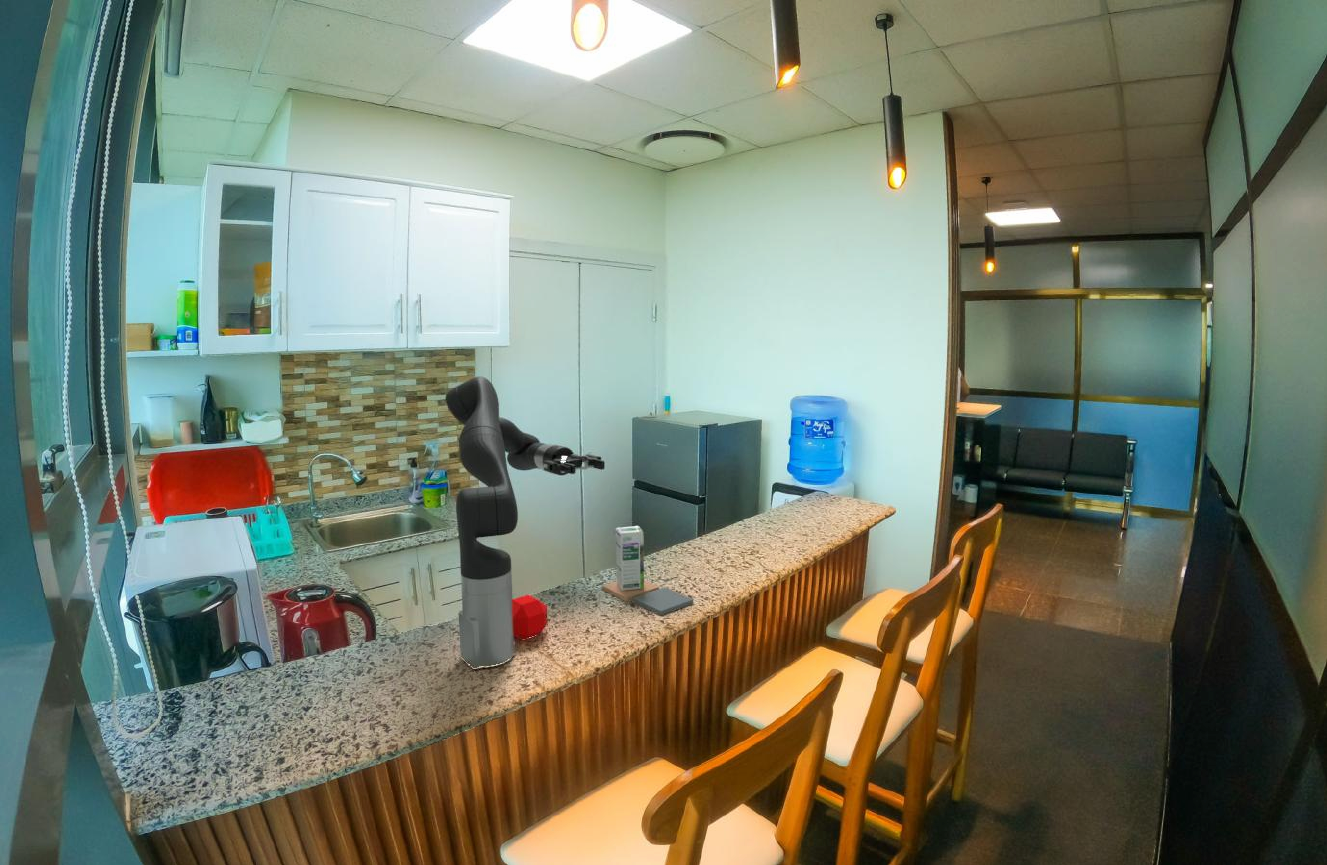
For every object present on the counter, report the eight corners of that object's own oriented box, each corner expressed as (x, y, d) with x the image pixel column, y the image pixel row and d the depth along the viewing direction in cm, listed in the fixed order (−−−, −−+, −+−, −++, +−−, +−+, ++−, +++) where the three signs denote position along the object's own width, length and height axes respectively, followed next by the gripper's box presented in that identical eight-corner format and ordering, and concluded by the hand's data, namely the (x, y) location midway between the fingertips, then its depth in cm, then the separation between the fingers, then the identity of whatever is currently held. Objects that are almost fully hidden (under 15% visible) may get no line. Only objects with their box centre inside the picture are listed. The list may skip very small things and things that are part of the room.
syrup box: (621, 591, 150) (620, 533, 148) (616, 582, 155) (615, 526, 153) (644, 589, 151) (644, 531, 149) (638, 580, 157) (638, 524, 155)
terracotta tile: (626, 601, 146) (626, 597, 146) (601, 589, 154) (601, 585, 153) (659, 590, 153) (659, 586, 152) (633, 579, 160) (633, 575, 160)
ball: (553, 634, 129) (552, 599, 128) (519, 647, 124) (518, 610, 123) (532, 622, 135) (531, 589, 134) (499, 634, 130) (497, 599, 129)
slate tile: (660, 615, 139) (660, 611, 138) (632, 601, 146) (632, 597, 146) (693, 603, 145) (693, 599, 145) (664, 590, 152) (664, 587, 152)
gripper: (529, 447, 160) (563, 455, 148) (576, 442, 169) (612, 449, 157) (530, 476, 161) (564, 486, 149) (577, 469, 170) (612, 478, 158)
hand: (589, 467), depth 153 cm, fingers open, 8 cm apart
